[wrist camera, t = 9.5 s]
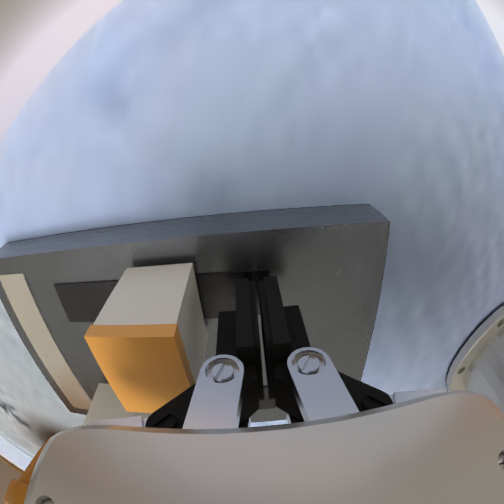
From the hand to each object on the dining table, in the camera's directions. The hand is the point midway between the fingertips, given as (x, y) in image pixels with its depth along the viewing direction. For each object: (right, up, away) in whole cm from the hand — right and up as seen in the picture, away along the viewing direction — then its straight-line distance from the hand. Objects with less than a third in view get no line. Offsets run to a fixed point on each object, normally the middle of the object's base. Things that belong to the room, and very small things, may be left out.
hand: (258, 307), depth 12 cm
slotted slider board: (-5, -2, +5) cm, 7 cm away
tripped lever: (-4, 0, +1) cm, 4 cm away
